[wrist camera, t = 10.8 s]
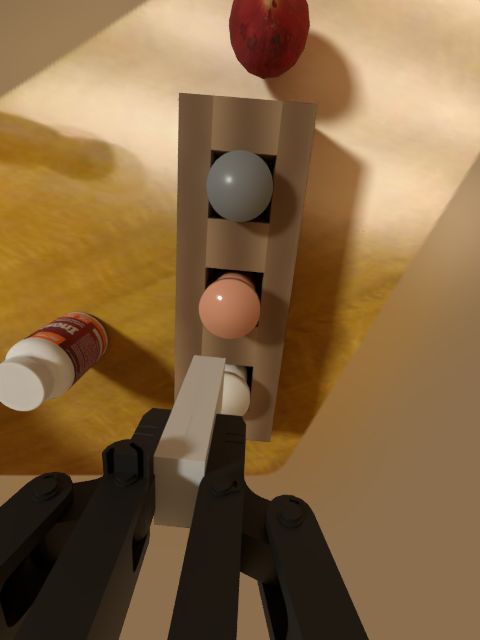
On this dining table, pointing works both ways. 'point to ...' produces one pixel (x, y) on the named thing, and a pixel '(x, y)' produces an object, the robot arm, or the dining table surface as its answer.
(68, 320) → the pill bottle
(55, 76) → the dining table surface
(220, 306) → the plug terracotta
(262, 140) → the socket block
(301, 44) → the onion
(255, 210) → the plug blue-grey
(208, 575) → the robot arm
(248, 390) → the plug white
